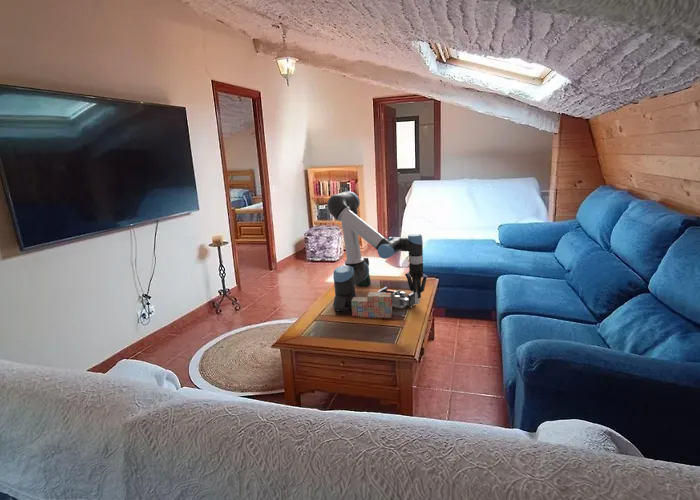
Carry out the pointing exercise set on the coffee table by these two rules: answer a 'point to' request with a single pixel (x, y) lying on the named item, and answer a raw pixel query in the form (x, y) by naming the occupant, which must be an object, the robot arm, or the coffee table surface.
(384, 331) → the coffee table surface
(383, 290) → the gauge body
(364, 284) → the coffee jar
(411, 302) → the plunger
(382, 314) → the stack of blocks
